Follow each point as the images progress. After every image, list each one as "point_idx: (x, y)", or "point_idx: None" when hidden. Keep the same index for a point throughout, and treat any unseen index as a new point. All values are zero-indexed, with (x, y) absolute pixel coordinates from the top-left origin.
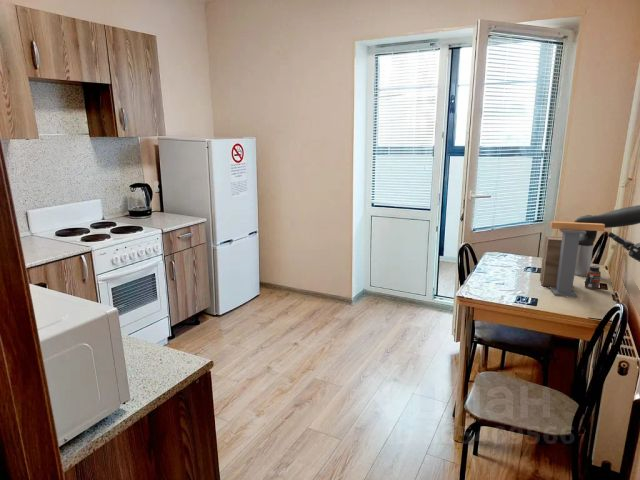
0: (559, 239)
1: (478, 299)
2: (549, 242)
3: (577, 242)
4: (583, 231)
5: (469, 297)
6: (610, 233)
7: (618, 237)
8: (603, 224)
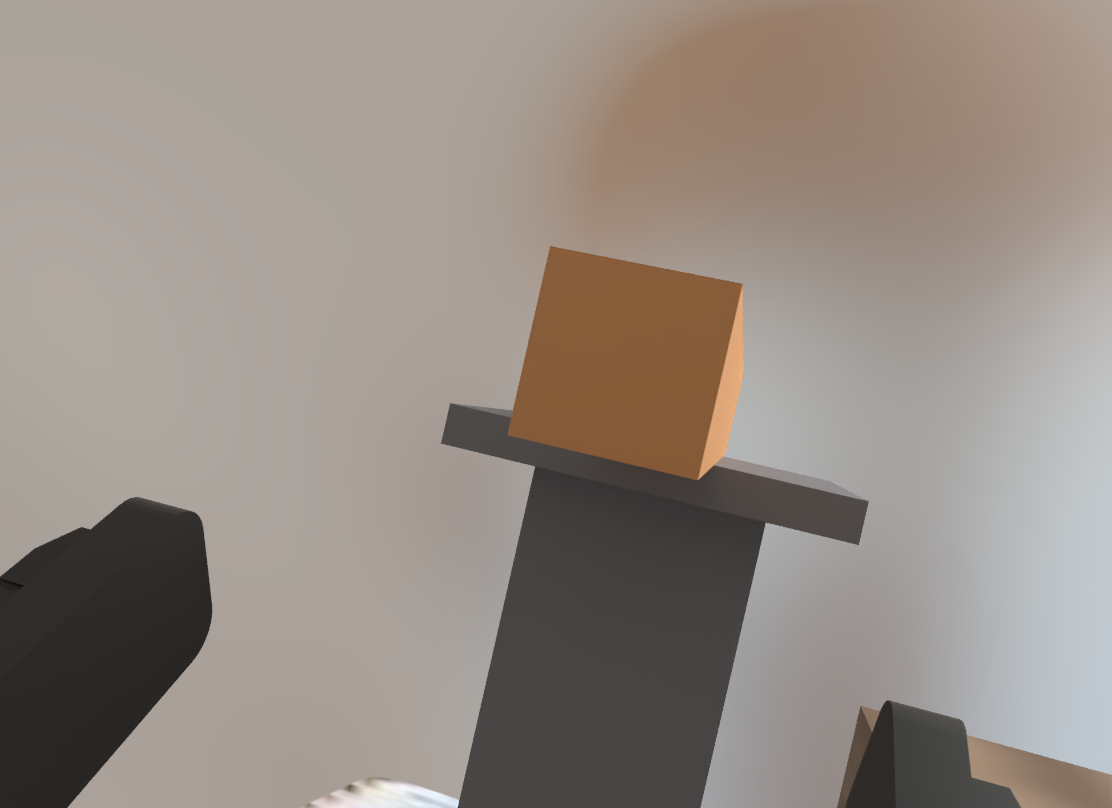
0: None
1: (324, 804)
2: (852, 755)
3: (499, 634)
4: (470, 406)
5: (364, 790)
6: (870, 747)
7: (83, 547)
8: (613, 262)
